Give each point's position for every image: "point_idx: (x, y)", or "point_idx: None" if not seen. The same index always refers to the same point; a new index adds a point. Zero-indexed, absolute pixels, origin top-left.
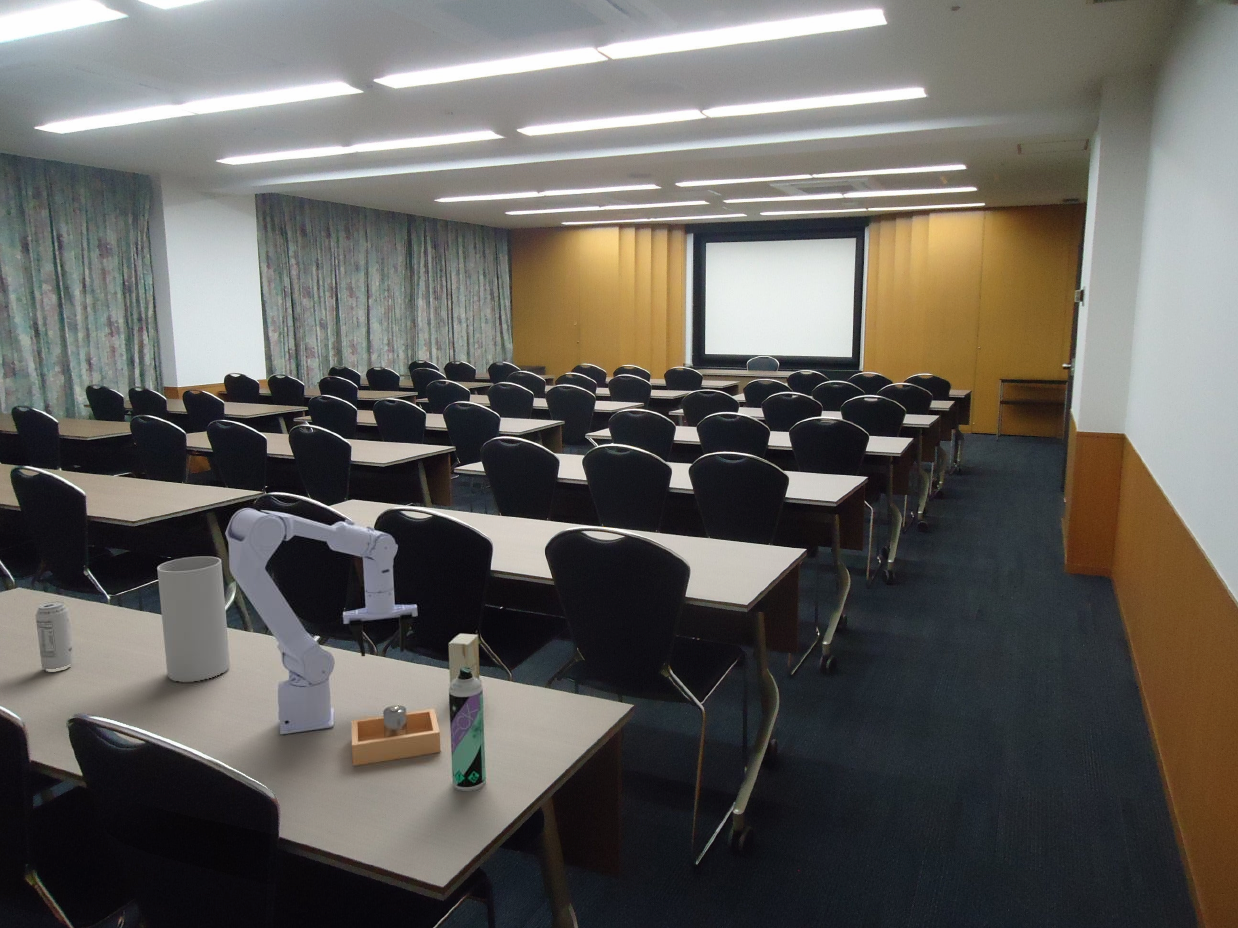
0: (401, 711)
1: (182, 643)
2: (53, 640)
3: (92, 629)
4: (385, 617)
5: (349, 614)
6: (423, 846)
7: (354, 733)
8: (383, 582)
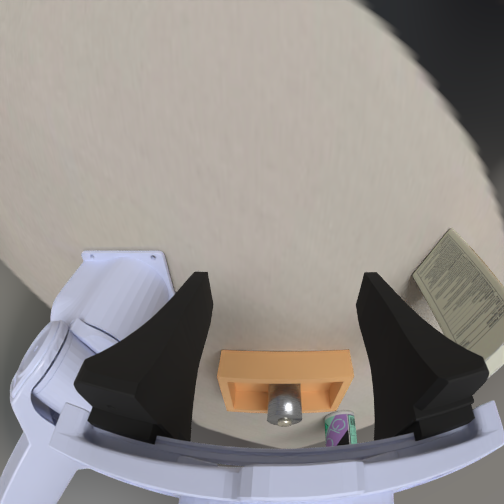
0: (294, 421)
1: None
2: None
3: None
4: (317, 456)
5: (105, 474)
6: (285, 440)
7: (226, 398)
8: None
